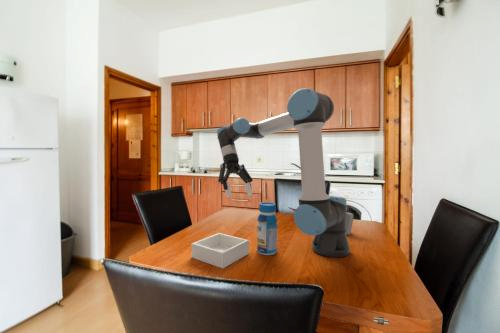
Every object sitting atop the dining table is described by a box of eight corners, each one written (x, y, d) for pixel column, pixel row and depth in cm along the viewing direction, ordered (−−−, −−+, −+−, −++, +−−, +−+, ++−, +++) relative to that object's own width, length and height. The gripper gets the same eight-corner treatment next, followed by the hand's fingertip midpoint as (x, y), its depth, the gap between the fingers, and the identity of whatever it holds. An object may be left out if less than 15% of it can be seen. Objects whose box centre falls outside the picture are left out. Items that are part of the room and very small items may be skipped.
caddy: (248, 253, 100) (248, 240, 100) (222, 268, 87) (222, 253, 87) (219, 245, 110) (219, 232, 109) (191, 257, 96) (191, 243, 96)
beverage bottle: (276, 256, 98) (277, 206, 97) (255, 255, 99) (255, 205, 98) (277, 248, 106) (278, 202, 105) (258, 247, 107) (258, 201, 106)
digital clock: (319, 228, 135) (320, 209, 135) (331, 226, 140) (331, 207, 139) (344, 237, 121) (345, 215, 121) (356, 234, 126) (357, 213, 126)
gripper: (243, 160, 136) (253, 197, 129) (205, 157, 118) (214, 199, 111) (252, 154, 131) (263, 192, 124) (214, 149, 113) (224, 193, 106)
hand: (240, 196), depth 117 cm, fingers open, 13 cm apart
